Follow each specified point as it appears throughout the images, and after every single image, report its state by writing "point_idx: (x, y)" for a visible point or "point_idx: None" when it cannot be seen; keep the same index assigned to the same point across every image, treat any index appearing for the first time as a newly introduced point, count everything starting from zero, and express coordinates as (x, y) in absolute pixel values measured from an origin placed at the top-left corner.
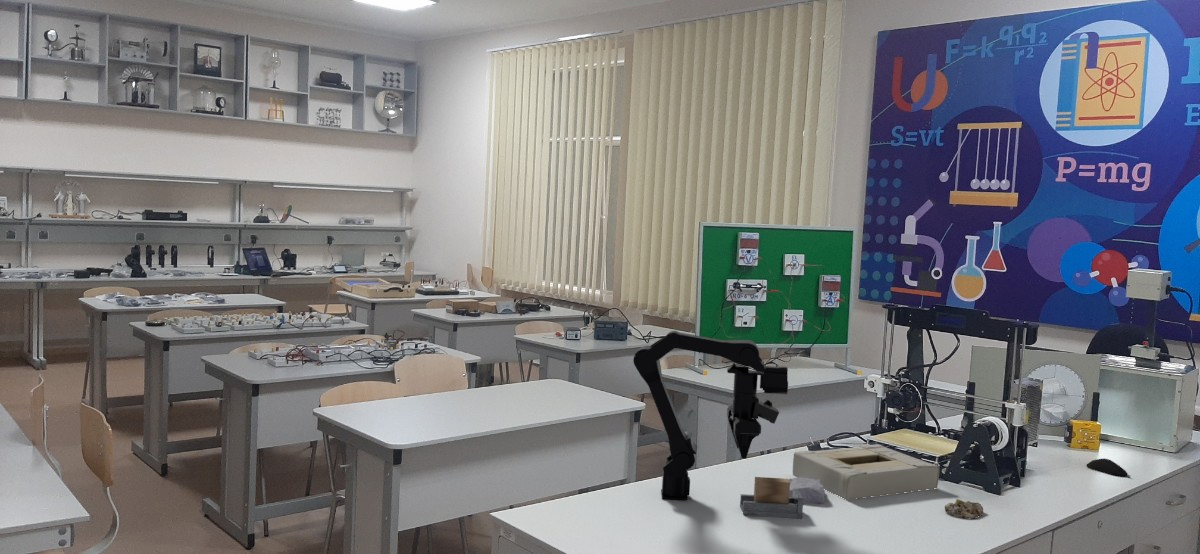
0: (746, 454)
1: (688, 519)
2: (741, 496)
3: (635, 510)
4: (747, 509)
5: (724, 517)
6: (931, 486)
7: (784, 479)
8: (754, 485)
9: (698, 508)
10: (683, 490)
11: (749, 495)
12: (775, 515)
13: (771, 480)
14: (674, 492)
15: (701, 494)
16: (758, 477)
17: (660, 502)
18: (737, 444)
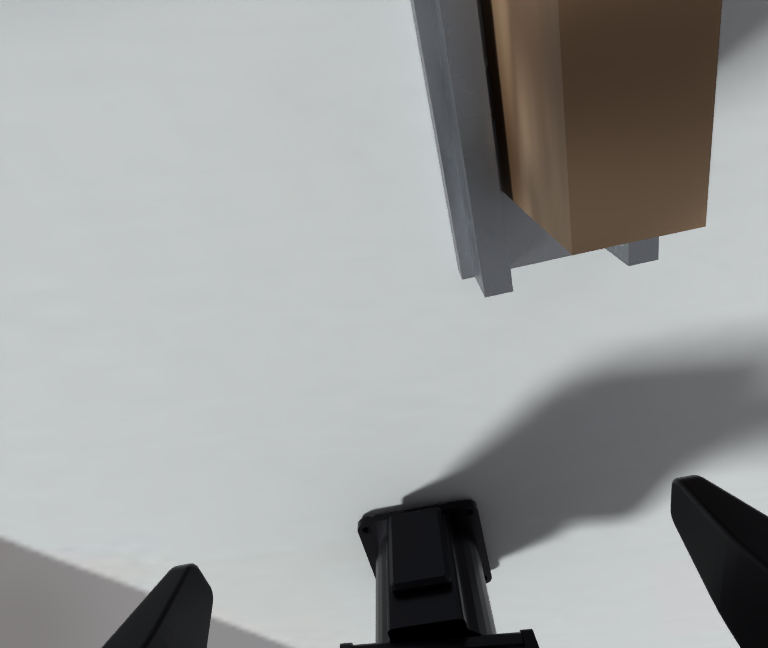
0: (761, 520)
1: (734, 458)
2: (510, 286)
3: (648, 615)
4: None
5: (686, 322)
6: None
7: None
8: (547, 229)
9: (569, 444)
10: (459, 548)
11: (493, 237)
12: None
13: (681, 54)
14: (482, 568)
15: (349, 460)
16: (588, 218)
17: (529, 570)
18: (196, 643)
